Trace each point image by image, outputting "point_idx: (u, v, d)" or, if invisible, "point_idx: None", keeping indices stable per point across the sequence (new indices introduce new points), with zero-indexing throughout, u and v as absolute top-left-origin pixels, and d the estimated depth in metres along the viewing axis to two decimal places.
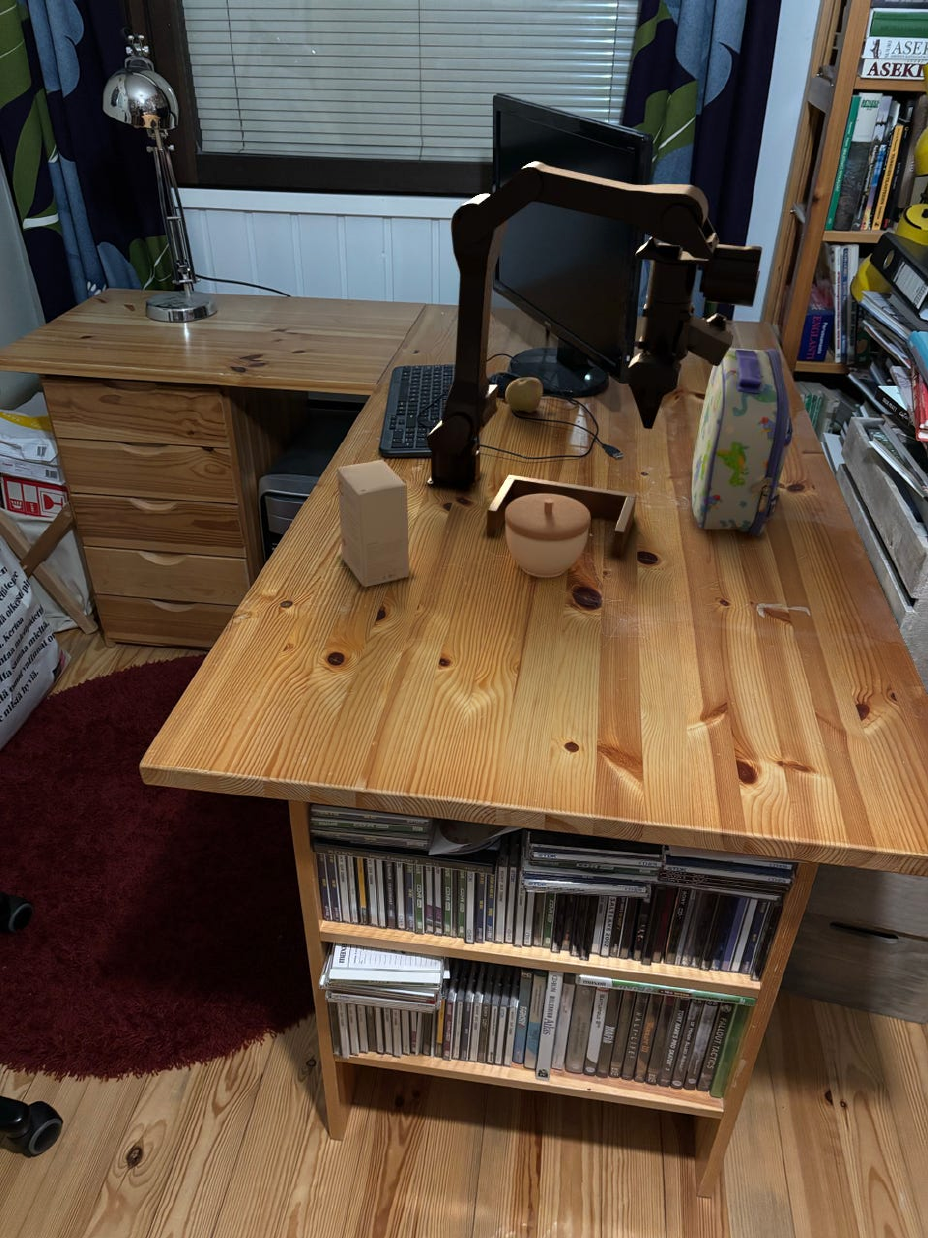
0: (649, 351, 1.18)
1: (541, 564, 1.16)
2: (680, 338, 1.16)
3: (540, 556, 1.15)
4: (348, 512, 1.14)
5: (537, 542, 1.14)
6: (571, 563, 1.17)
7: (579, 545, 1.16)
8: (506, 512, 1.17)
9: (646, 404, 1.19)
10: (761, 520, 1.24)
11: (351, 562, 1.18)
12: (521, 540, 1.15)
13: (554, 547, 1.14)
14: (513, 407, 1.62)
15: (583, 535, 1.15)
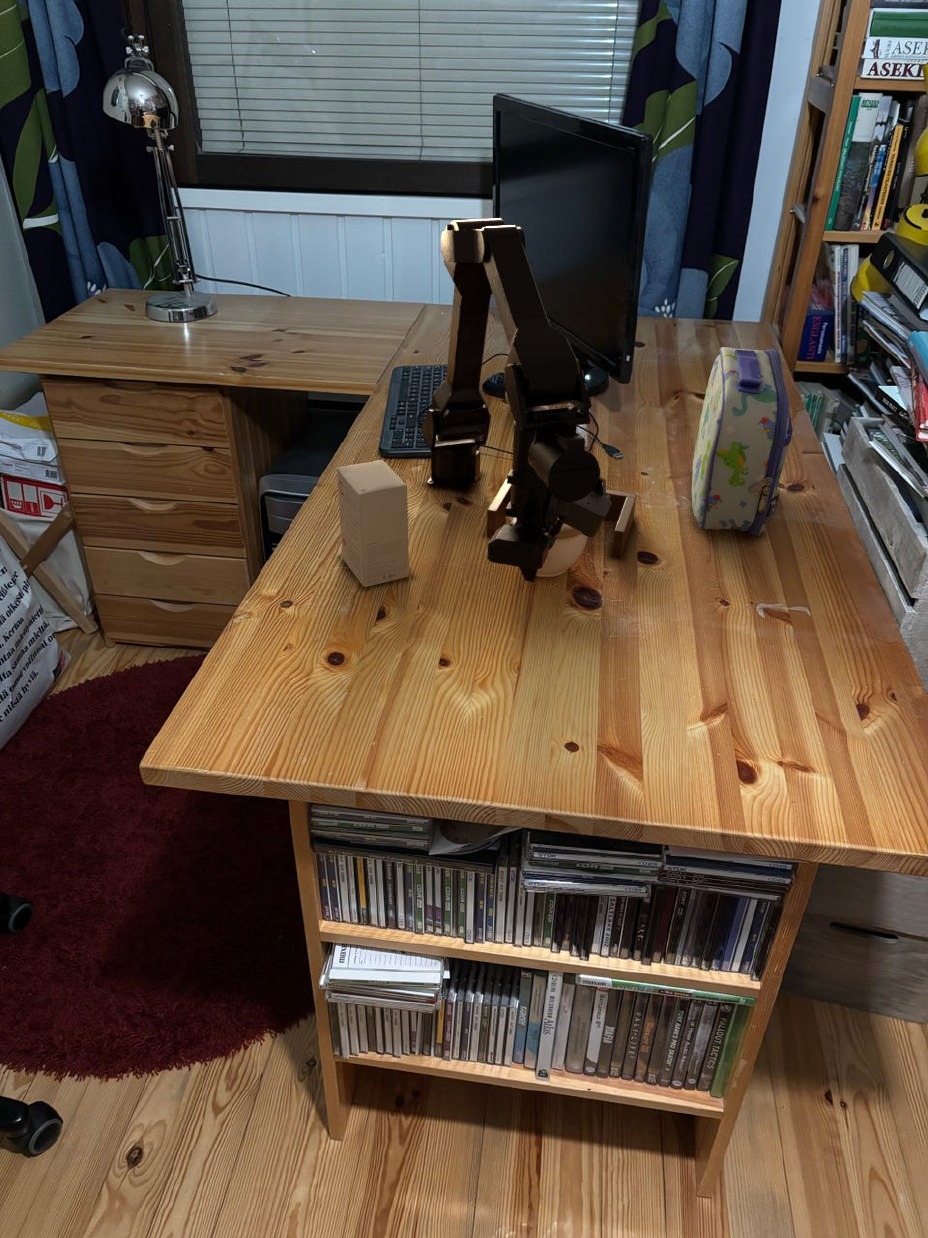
0: (517, 519, 1.06)
1: None
2: (549, 508, 1.04)
3: None
4: (348, 512, 1.14)
5: None
6: (572, 562, 1.17)
7: (580, 544, 1.16)
8: None
9: None
10: (761, 520, 1.24)
11: (351, 562, 1.18)
12: None
13: (555, 546, 1.14)
14: None
15: None
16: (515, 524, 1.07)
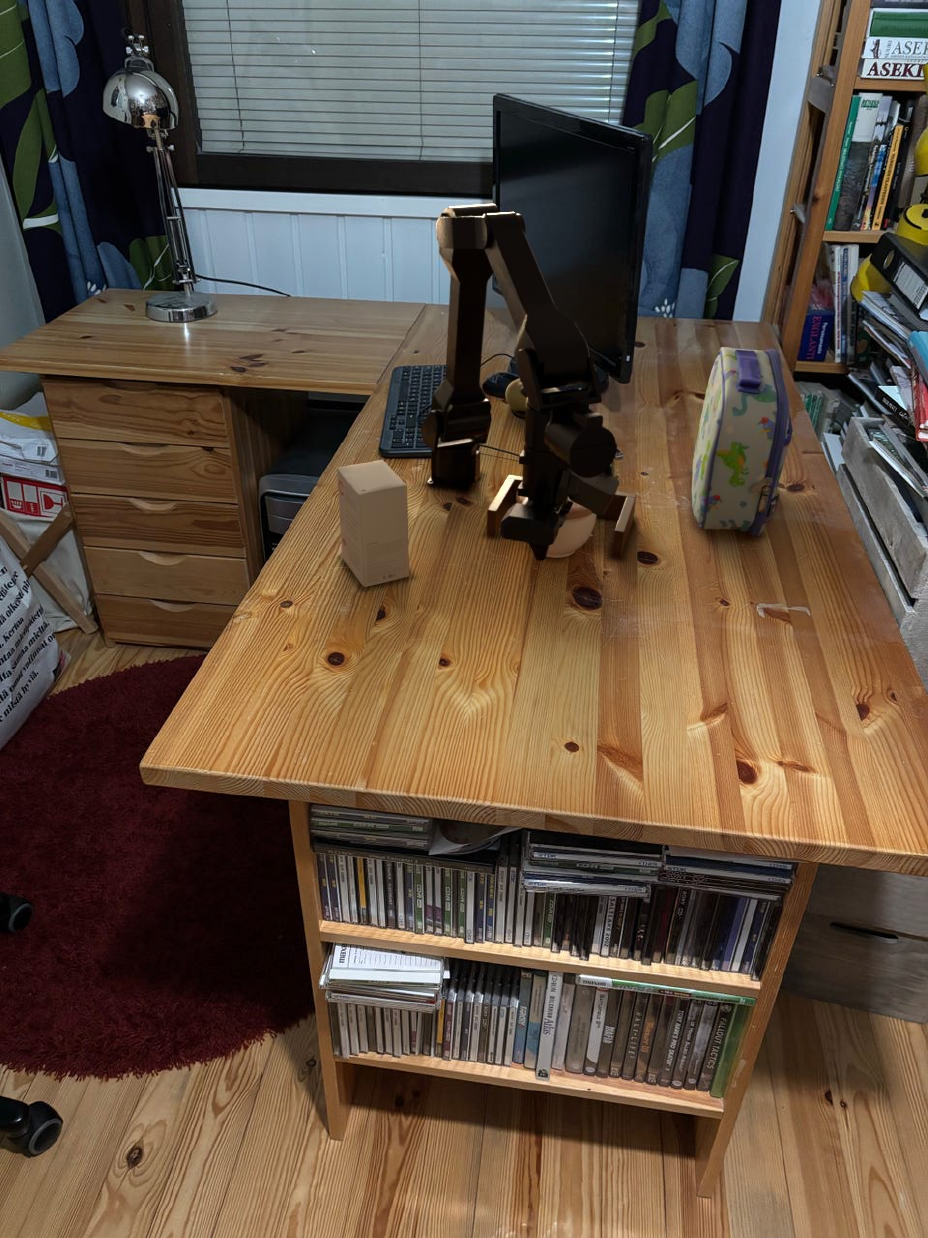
0: (529, 499, 1.10)
1: None
2: (559, 487, 1.08)
3: None
4: (348, 512, 1.14)
5: None
6: (581, 543, 1.21)
7: (589, 524, 1.19)
8: None
9: None
10: (761, 520, 1.24)
11: (351, 562, 1.18)
12: None
13: (565, 526, 1.18)
14: (513, 407, 1.62)
15: (592, 515, 1.19)
16: (527, 503, 1.10)
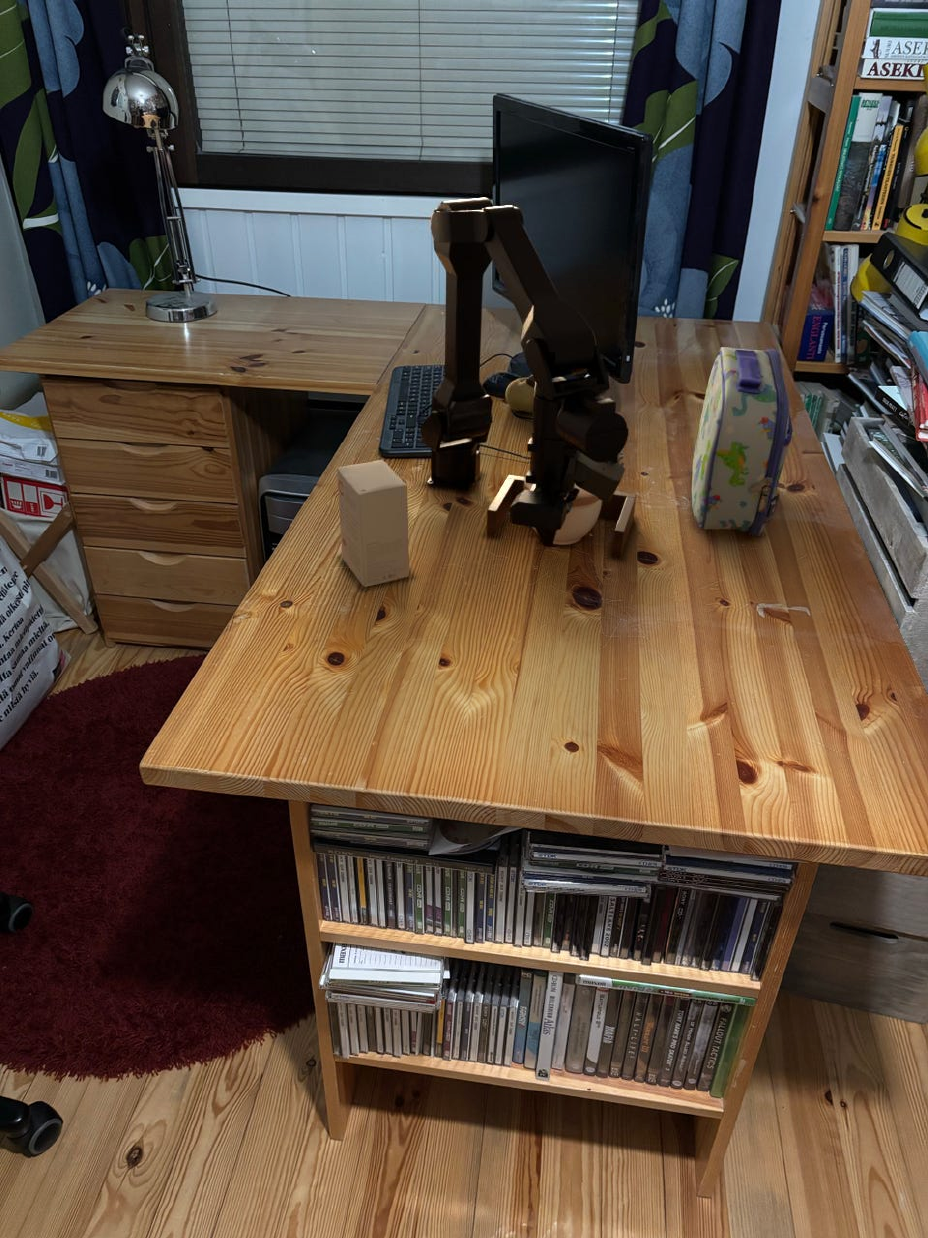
0: (537, 485, 1.13)
1: (558, 530, 1.22)
2: (567, 474, 1.11)
3: None
4: (348, 512, 1.14)
5: None
6: (587, 530, 1.24)
7: (595, 512, 1.22)
8: None
9: None
10: (761, 520, 1.24)
11: (351, 562, 1.18)
12: None
13: (571, 513, 1.20)
14: (513, 407, 1.62)
15: (598, 502, 1.22)
16: (534, 490, 1.13)
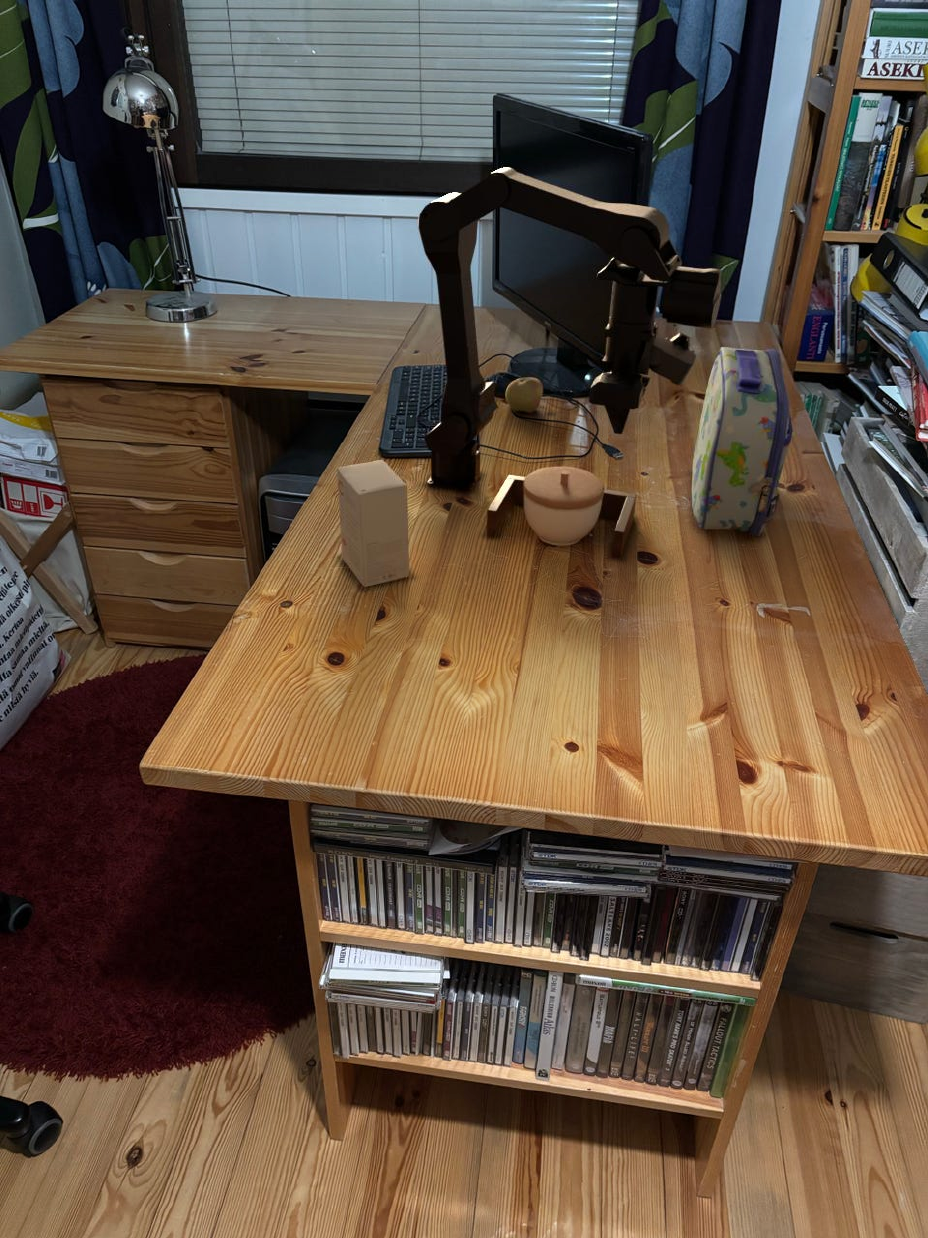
0: (612, 370, 1.20)
1: (558, 532, 1.22)
2: (642, 358, 1.17)
3: (557, 524, 1.21)
4: (348, 512, 1.14)
5: (555, 511, 1.20)
6: (586, 531, 1.24)
7: (594, 513, 1.22)
8: (524, 483, 1.23)
9: (615, 410, 1.24)
10: (761, 520, 1.24)
11: (351, 562, 1.18)
12: (539, 509, 1.21)
13: (571, 515, 1.20)
14: (513, 407, 1.62)
15: (598, 504, 1.22)
16: None
